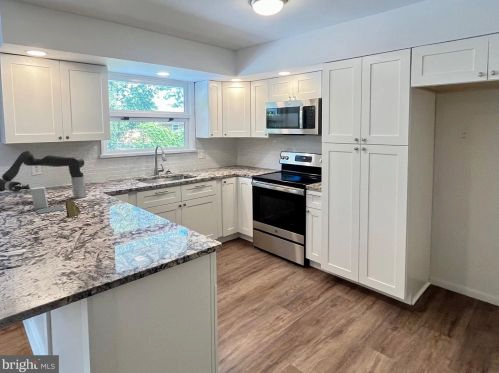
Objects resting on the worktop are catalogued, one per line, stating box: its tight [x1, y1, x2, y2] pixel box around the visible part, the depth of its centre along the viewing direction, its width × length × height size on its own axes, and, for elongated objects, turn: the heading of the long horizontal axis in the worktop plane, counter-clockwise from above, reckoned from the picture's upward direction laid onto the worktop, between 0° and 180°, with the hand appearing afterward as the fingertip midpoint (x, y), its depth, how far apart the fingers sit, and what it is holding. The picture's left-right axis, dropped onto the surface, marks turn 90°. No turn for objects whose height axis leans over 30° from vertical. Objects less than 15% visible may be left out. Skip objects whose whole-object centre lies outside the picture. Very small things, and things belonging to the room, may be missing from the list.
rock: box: [64, 200, 81, 218], centre depth 220 cm, size 11×9×10 cm
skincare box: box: [30, 186, 49, 210], centre depth 241 cm, size 8×6×15 cm
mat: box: [34, 205, 66, 215], centre depth 235 cm, size 16×15×1 cm
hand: (28, 188), depth 244 cm, fingers closed
